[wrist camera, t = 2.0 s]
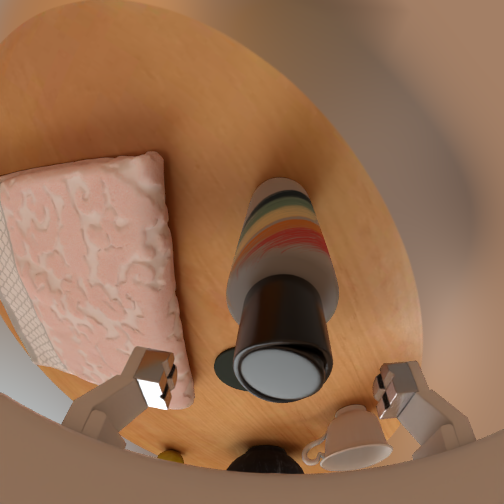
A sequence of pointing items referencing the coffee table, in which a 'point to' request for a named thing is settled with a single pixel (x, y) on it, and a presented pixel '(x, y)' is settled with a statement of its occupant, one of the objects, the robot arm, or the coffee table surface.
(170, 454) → the fruit
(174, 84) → the coffee table surface
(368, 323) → the coffee table surface
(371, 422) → the teacup
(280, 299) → the lotion bottle
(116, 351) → the towel
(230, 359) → the coaster
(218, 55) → the coffee table surface
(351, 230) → the coffee table surface
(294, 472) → the bowl
